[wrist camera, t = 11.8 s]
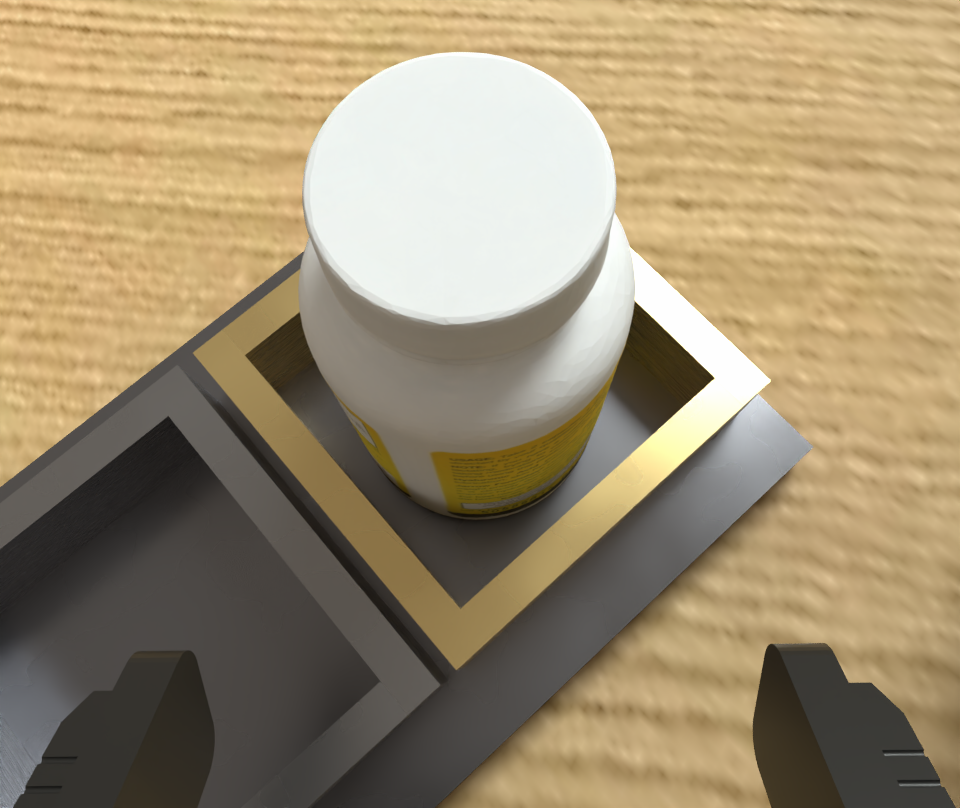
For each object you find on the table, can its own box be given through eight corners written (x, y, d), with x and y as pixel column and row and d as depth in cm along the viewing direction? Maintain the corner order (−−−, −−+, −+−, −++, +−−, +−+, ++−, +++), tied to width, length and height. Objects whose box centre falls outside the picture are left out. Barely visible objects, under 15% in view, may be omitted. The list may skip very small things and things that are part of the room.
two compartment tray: (473, 147, 23) (467, 55, 20) (795, 458, 20) (856, 417, 17) (-117, 610, 20) (-252, 600, 16) (167, 1056, 17) (79, 1161, 14)
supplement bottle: (626, 356, 20) (741, 91, 11) (535, 562, 19) (573, 467, 9) (425, 271, 21) (365, -46, 11) (323, 462, 19) (158, 281, 10)
